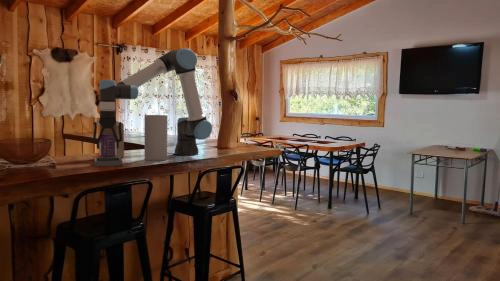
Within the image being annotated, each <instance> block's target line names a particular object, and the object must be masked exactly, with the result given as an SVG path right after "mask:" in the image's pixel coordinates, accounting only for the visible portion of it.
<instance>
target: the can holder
mask: <svg viewBox="0 0 500 281" xmlns="http://www.w3.org/2000/svg"><path fill="white" fill-rule="evenodd" d="M93 163H94V167H95V168H97V167H120V166H121V167H122V166H123V159H122V158H120V157H111V158H100V157H94V162H93Z"/></svg>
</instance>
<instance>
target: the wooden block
mask: <svg viewBox="0 0 500 281" xmlns="http://www.w3.org/2000/svg"><path fill="white" fill-rule="evenodd" d="M121 123H122V122H121ZM101 128H102V126H101V125H100V124H99V132H100V131H101ZM124 128H125V125H124V123H122V124H121V132H122V141H120V142H119V148H118V149H117V155H115V156H113V157H120V158H121V159H122V158H124V157H125V143H124V142H125V138H124V137H125V129H124ZM114 130H115V133H116V135H117V138H118V139H120V138H119V130H118V126H117V123H116V124H115V125H114ZM103 133H112V134H113V132H112V129H109V128H107V129H104V131H103ZM115 142H116V140H115ZM99 158H104V157H102V156H99ZM110 158H111V157H110Z"/></svg>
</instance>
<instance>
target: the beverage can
mask: <svg viewBox="0 0 500 281" xmlns="http://www.w3.org/2000/svg"><path fill="white" fill-rule="evenodd" d="M99 142H100V143H101V156H102V157H104V158H110V157H113V156H115V137H114V134H112V133H103V134H102V136H101V139H100V141H99Z"/></svg>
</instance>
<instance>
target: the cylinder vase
mask: <svg viewBox="0 0 500 281" xmlns="http://www.w3.org/2000/svg"><path fill="white" fill-rule="evenodd" d="M144 160H145V161H151V162H161V161H167V160H168V115H167V114H166V115H164V114H163V115H162V114H145V115H144Z"/></svg>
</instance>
